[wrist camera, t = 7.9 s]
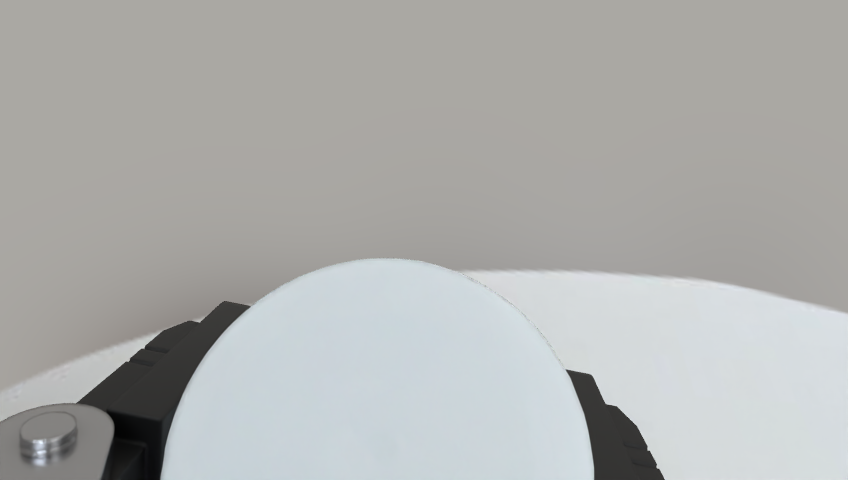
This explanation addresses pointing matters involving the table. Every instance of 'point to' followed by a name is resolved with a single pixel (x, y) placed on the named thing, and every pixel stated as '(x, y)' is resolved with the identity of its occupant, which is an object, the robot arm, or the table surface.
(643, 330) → the table surface
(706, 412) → the table surface
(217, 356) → the pill bottle
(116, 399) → the robot arm
